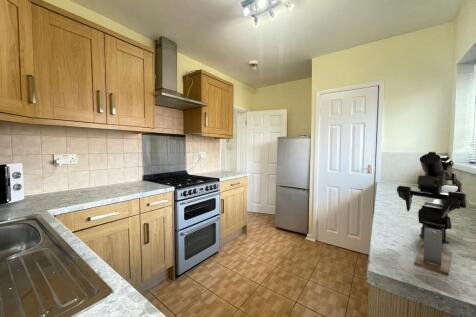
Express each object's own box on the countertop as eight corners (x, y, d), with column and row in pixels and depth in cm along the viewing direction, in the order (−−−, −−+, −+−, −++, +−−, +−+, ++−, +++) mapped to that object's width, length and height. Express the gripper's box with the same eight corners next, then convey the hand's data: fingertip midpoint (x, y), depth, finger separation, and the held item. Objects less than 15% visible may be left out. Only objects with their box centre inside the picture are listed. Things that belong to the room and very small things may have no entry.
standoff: (424, 255, 67) (424, 227, 66) (441, 260, 64) (441, 230, 64) (423, 260, 64) (424, 230, 64) (441, 265, 61) (442, 234, 61)
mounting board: (422, 246, 75) (422, 240, 75) (451, 254, 69) (452, 247, 69) (414, 264, 64) (414, 257, 64) (448, 275, 58) (448, 267, 58)
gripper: (398, 166, 82) (387, 196, 76) (466, 169, 66) (459, 207, 61) (404, 182, 87) (394, 212, 81) (469, 189, 71) (462, 226, 65)
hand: (423, 213), depth 72 cm, fingers open, 9 cm apart
